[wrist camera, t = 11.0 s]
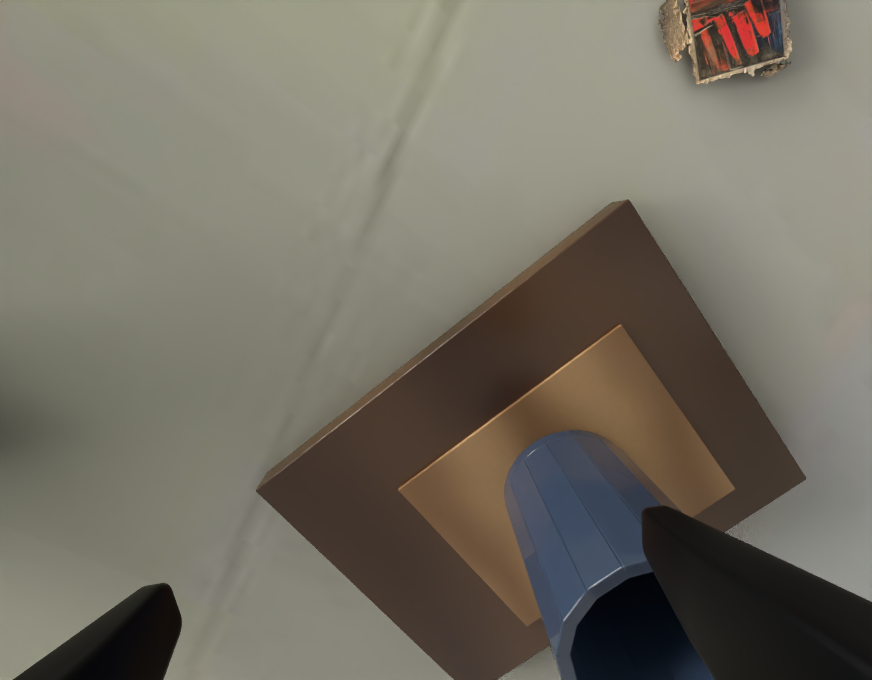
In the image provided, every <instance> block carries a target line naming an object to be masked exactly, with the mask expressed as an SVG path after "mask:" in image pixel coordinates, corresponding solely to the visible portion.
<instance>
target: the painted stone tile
mask: <svg viewBox="0 0 872 680" xmlns="http://www.w3.org/2000/svg"><path fill="white" fill-rule="evenodd" d="M676 4H677V0H667V1H666V2H665V3H664V4H663V5H662V6H661V7H660V11H662V12H663V15H664V20H663V21H662V20H659V21H658V22H659V24H661V26H660V27H661V28H662V29H661V30H660V31H661V32H664V37H663V38H664V41H665V44H666V46H667V49H669V54H670V56H671V58H672V59H675V62H677V61H678V60H679V59H681V55H679V50H683V49H684V48H685V43H686V44H687V45H689V43H691V44H690V45H691V46H690V45H689V46H690V47H689V46H688V47H689V48H688V49H689V54H690V56H691V57H692V58H693V60H694V70H693V71H694V73H693V76H695V78H696V81H695V82H696V84H700V83H705V84H707V83H708V81H714V80H717V79H718V78H720V79H723V78H730V76H731V75H733V74H737V73H741V72H744V73H749V74H750V75H751V76H752V77H753V76H754V75H755V73H754V70H755V69H758V68H760V67H763V66H764V65H768V64H773V63H777V64H775V65H773V66H771V67H769V68H767V71H765V70H766V69H765V70H764V71H765V72H764V71H762V72H761V73H762V74H761V76H763V75H764V74H765V76H766V77H771V76H773V75H774V74H776V73H777V72H779V71H780V70H782V69H783V68H785V67H786V66H787V63H788V62H787V61H786V62H785V63H786V64H785V65H784V64H781V63H780V64H778V63H779V62H780V61H781V60H784V59H786V58H788V57H789V53H790V51H792V47H791V45H792V41H791V39H790V38H788V35H789V33H790V31H789V30H788V26H789V25H790V23H791V21H790V19H789V18H788V15H787V6H786V2H785V0H685V1H684V4H686V8H685V9H684V11H682V12H683V13H684V14H687V19H686V21H687V25H688V27H687V26H686V25H685V26H686V28H687V30H688V32H689V33H687V30H686V29H685V26H684V24H683V23H682V14H681V12H680V8H679V5H677V6H676ZM659 13H660V12H659ZM688 37H690V39H689V38H688ZM688 39H689V40H688ZM691 61H692V60H691ZM692 64H693V63H692ZM789 64H791V61H790V63H789ZM692 68H693V66H692Z"/></svg>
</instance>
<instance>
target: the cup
mask: <svg viewBox="0 0 872 680" xmlns="http://www.w3.org/2000/svg"><path fill="white" fill-rule="evenodd" d="M504 501H505V506H506V510H507V513H508V516H509V519H510V523H511V526H512V529H513V533H514V536H515V539H516V542H517V545H518V548H519V551H520V554H521V557H522V560H523V564H524V567H525V570H526V573H527V576H528V579H529V582H530V585H531V588H532V591H533V595H534V598H535V601H536V604H537V607H538V610H539V613H540V616H541V619H542V622H543V626H544V629H545V632H546V635H547V638H548V641H549V644H550V647H551V650H552V653H553V657H554V660H555V663H556V666H557V669H558V672H559V675H560V678H561V680H715V679H714V678H713V676H712V675H711V673H710V672H709V670H708V669H707V667H706V666H705V664H704V662H703V661H702V659H701V658H700V656H699V655H698V653H697V651H696V650H695V648H694V646H693V645H692V643H691V642H690V640H689V638H688V636H687V634H686V633H685V631H684V629H683V627H682V625H681V623H680V622H679V620H678V618H677V616H676V614H675V612H674V610H673V608H672V606H671V604H670V603H669V601H668V599H667V597H666V595H665V593H664V591H663V589H662V587H661V585H660V584H659V582H658V580H657V578H656V576H655V574H654V572H653V570H652V568H651V567H650V565H649V563H648V561H647V559H646V557H645V554H644V551H643V547H642V518H641V516H642V511H643V509H644V508H646V507H652V506H658V505H666V506H668V507H671V508H673V509H675V510H677V511H679V512H681V513H682V511H681V510H680V509H679V508H678V507H677V506H676V505H675V504H674V503H673V502H672V501H671V500H670V499H669V498H668V497H667V496H666V495H665V494H664V493H663V492H662V491H661V490H660V489H659V488H658V487H657V486H656V485H655V483H654V482H653V481H652V480H651V479H650V478H649V477H648V476H647V475H646V474H645V473H644V472H643V471H642V470H641V469H640V468H639V467H638V466H637V465H636V464H635V463H634V462H633V461H632V460H631V459H630V458H629V457H628V455H627V454H626V453H625V452H624V451H623V450H621V449H620V448H618V446H616V445H615V444H614V443H613V442H612V441H610V440H608V439H607V438H605V437H603V436H601V435H598V434H596V433H592V432H588V431H582V430H568V431H561V432H556V433H553V434H550V435H547V436H545V437H543V438H541V439H538V440H537V441H535V442H534V443H532V444H531V445H529V446H528V447H527V448H526V449H525V450H524V451H523V452H522V453H521V454H520V455H519V456H518V457H517V458H516V460H515V461H514V463H513V464H512V466H511V468H510V470H509V472H508V475H507V477H506V481H505V486H504Z"/></svg>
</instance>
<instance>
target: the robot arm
mask: <svg viewBox="0 0 872 680" xmlns="http://www.w3.org/2000/svg"><path fill="white" fill-rule="evenodd" d="M641 518H642V547H643V551H644V554H645V557H646V559H647V561H648V563H649V565H650V567H651V568H652V570H653V572H654V574H655V576H656V578H657V580H658V582H659V584H660V585H661V587H662V589H663V591H664V593H665V595H666V597H667V599H668V601H669V603H670V604H671V606H672V608H673V610H674V612H675V614H676V616H677V618H678V620H679V622H680V623H681V625H682V627H683V629H684V631H685V633H686V634H687V636H688V638H689V640H690V642H691V643H692V645H693V646H694V648H695V650H696V651H697V653H698V655H699V656H700V658H701V659H702V661H703V662H704V664H705V666H706V667H707V669H708V670H709V672H710V673H711V675H712V676H713V678H714V679H715V680H872V602H871V601H869V600H866V599H864V598H862V597H860V596H858V595H856V594H854V593H852V592H849V591H847V590H845V589H843V588H841V587H839V586H837V585H835V584H832V583H830V582H828V581H826V580H824V579H822V578H820V577H817V576H815V575H813V574H811V573H809V572H807V571H805V570H803V569H800V568H798V567H796V566H794V565H792V564H790V563H788V562H786V561H783V560H781V559H779V558H777V557H775V556H773V555H771V554H769V553H766V552H764V551H762V550H760V549H758V548H756V547H754V546H752V545H749V544H747V543H745V542H743V541H741V540H739V539H737V538H734V537H732V536H730V535H728V534H726V533H724V532H722V531H720V530H717V529H715V528H713V527H711V526H709V525H707V524H705V523H703V522H700V521H698V520H696V519H694V518H692V517H690V516H688V515H686V514H683V513H681V512H679V511H677V510H675V509H673V508H671V507H668V506H666V505H658V506H652V507H646V508H644V509H643V511H642V516H641ZM181 627H182V618H181V614H180V611H179V608H178V605H177V603H176V600H175V597H174V594H173V591H172V589H171V587H170V586H169V585H168V584H166V583H160V584H154V585H148V586H144V587H142V588H140V589H139V590H137V591H136V592H134V593H133V594H132V595H130V596H129V597H127V598H126V599H125V600H123V601H122V602H120V603H119V604H118V605H116V606H115V607H114V608H112V609H111V610H109V611H108V612H107V613H105V614H104V615H102V616H101V617H100V618H98V619H97V620H95V621H94V622H93V623H91V624H90V625H88V626H87V627H86V628H84V629H83V630H81V631H80V632H79V633H77V634H76V635H75V636H73V637H72V638H70V639H69V640H68V641H66V642H65V643H63V644H62V645H61V646H59V647H58V648H56V649H55V650H54V651H52V652H51V653H49V654H48V655H47V656H45V657H44V658H42V659H41V660H40V661H38V662H37V663H36V664H34V665H33V666H31V667H30V668H29V669H27V670H26V671H24V672H23V673H22V674H20V675H19V676H17V677H16V678H15V679H13V680H163V679H164V676H165V674H166V671H167V668H168V665H169V663H170V660H171V657H172V654H173V652H174V649H175V646H176V643H177V641H178V638H179V635H180V632H181Z"/></svg>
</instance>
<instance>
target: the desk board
mask: <svg viewBox="0 0 872 680" xmlns="http://www.w3.org/2000/svg"><path fill="white" fill-rule="evenodd" d="M568 430H582V431H588V432H592V433H596V434H598V435H601V436H603V437H605V438H607V439H608V440H610V441H612V442H613V443H614V444H615V445H616V446H618V448H620V449H621V450H623V451H624V452H625V453H626V454H627V455H628V457H629V458H630V459H631V460H632V461H633V462H634V463H635V464H636V465H637V466H638V467H639V468H640V469H641V470H642V471H643V472H644V473H645V474H646V475H647V476H648V477H649V478H650V479H651V480H652V481H653V482H654V483H655V485H656V486H657V487H658V488H659V489H660V490H661V491H662V492H663V493H664V494H665V495H666V496H667V497H668V498H669V499H670V500H671V501H672V502H673V503H674V504H675V505H676V506H677V507H678V508H679V509H680V510H681V511H682V513H683V514H686V515H688V516H690V517H692V518H694V519H696V520H698V521H700V522H703V523H705V524H707V525H709V526H711V527H713V528H715V529H717V530H720V531H722V532H725V531H727V530H729V529H730V528H732V527H733V526H735V525H736V524H738V523H739V522H741V521H742V520H744V519H746V518H747V517H749V516H750V515H752V514H753V513H755V512H756V511H758V510H759V509H761V508H763V507H764V506H766V505H767V504H769V503H770V502H772V501H773V500H775V499H776V498H778V497H780V496H781V495H783V494H784V493H786V492H787V491H789V490H790V489H792V488H793V487H795V486H797V485H798V484H800V483H801V482H803V481H804V480H806V477H805V475H804V474H803V472H802V471H801V469H800V468H799V466H798V464H797V463H796V461H795V460H794V458H793V457H792V455H791V453H790V452H789V450H788V449H787V447H786V446H785V444H784V442H783V441H782V439H781V438H780V436H779V435H778V433H777V431H776V430H775V428H774V427H773V425H772V424H771V422H770V420H769V419H768V417H767V416H766V414H765V413H764V411H763V409H762V408H761V406H760V405H759V403H758V402H757V400H756V398H755V397H754V395H753V394H752V392H751V391H750V389H749V387H748V386H747V384H746V383H745V381H744V380H743V378H742V376H741V375H740V373H739V372H738V370H737V369H736V367H735V365H734V364H733V362H732V361H731V359H730V358H729V356H728V354H727V353H726V351H725V350H724V348H723V347H722V345H721V343H720V342H719V340H718V339H717V337H716V336H715V334H714V332H713V331H712V329H711V328H710V326H709V325H708V323H707V321H706V320H705V318H704V317H703V315H702V314H701V312H700V310H699V309H698V307H697V306H696V304H695V303H694V301H693V299H692V298H691V296H690V295H689V293H688V292H687V290H686V288H685V287H684V285H683V284H682V282H681V281H680V279H679V277H678V276H677V274H676V273H675V271H674V270H673V268H672V266H671V265H670V263H669V262H668V260H667V259H666V257H665V255H664V254H663V252H662V251H661V249H660V248H659V246H658V244H657V243H656V241H655V240H654V238H653V237H652V235H651V233H650V232H649V230H648V229H647V227H646V226H645V224H644V222H643V221H642V219H641V218H640V216H639V215H638V213H637V211H636V210H635V208H634V207H633V205H632V204H631V202H630V201H629V200H623V201H618V202H612V203H610V204H609V205H608V206H607V207H605V208H604V209H603V210H601V211H600V212H599V213H598V214H596V215H595V216H594V217H593V218H591V219H590V220H589V221H587V222H586V223H585V224H584V225H582V226H581V227H580V228H578V229H577V230H576V231H575V232H573V233H572V234H571V235H570V236H568V237H567V238H566V239H564V240H563V241H562V242H561V243H559V244H558V245H557V246H555V247H554V248H553V249H552V250H550V251H549V252H548V253H547V254H545V255H544V256H543V257H541V258H540V259H539V260H538V261H536V262H535V263H534V264H533V265H531V266H530V267H529V268H527V269H526V270H525V271H524V272H522V273H521V274H520V275H518V276H517V277H516V278H515V279H513V280H512V281H511V282H510V283H508V284H507V285H506V286H504V287H503V288H502V289H501V290H499V291H498V292H497V293H495V294H494V295H493V296H492V297H490V298H489V299H488V300H487V301H485V302H484V303H483V304H481V305H480V306H479V307H478V308H476V309H475V310H474V311H473V312H471V313H470V314H469V315H467V316H466V317H465V318H464V319H462V320H461V321H460V322H458V323H457V324H456V325H455V326H453V327H452V328H451V329H450V330H448V331H447V332H446V333H444V334H443V335H442V336H441V337H439V338H438V339H437V340H435V341H434V342H433V343H432V344H430V345H429V346H428V347H427V348H425V349H424V350H423V351H421V352H420V353H419V354H418V355H416V356H415V357H414V358H413V359H411V360H410V361H409V362H407V363H406V364H405V365H404V366H402V367H401V368H400V369H398V370H397V371H396V372H395V373H393V374H392V375H391V376H390V377H388V378H387V379H386V380H384V381H383V382H382V383H381V384H379V385H378V386H377V387H375V388H374V389H373V390H372V391H370V392H369V393H368V394H367V395H365V396H364V397H363V398H361V399H360V400H359V401H358V402H356V403H355V404H354V405H353V406H351V407H350V408H349V409H347V410H346V411H345V412H344V413H342V414H341V415H340V416H338V417H337V418H336V419H335V420H333V421H332V422H331V423H330V424H328V425H327V426H326V427H324V428H323V429H322V430H321V431H319V432H318V433H317V434H316V435H314V436H313V437H312V438H310V439H309V440H308V441H307V442H305V443H304V444H303V445H301V446H300V447H299V448H298V449H296V450H295V451H294V452H293V453H291V454H290V455H289V456H287V457H286V458H285V459H284V460H282V461H281V462H280V463H278V464H277V465H276V466H275V467H273V468H272V469H271V470H270V471H268V472H267V473H266V475H265V476H264V478H263V479H262V481H261V483H260V484H259V486H258V487H257V489H256V492H257V493H258V494H260V495H261V496H262V497H263V498H264V499H265V500H266V501H267V502H268V503H269V504H270V505H271V506H272V507H273V508H274V509H275V510H276V511H277V512H278V513H280V514H281V515H282V516H283V517H284V518H285V519H286V520H287V521H288V522H289V523H290V524H291V525H292V526H293V527H294V528H295V529H296V530H297V531H298V532H299V533H301V534H302V535H303V536H304V537H305V538H306V539H307V540H308V541H309V542H310V543H311V544H312V545H313V546H314V547H315V548H316V549H317V550H318V551H319V552H320V553H322V554H323V555H324V556H325V557H326V558H327V559H328V560H329V561H330V562H331V563H332V564H333V565H334V566H335V567H336V568H337V569H338V570H339V571H340V572H341V573H343V574H344V575H345V576H346V577H347V578H348V579H349V580H350V581H351V582H352V583H353V584H354V585H355V586H356V587H357V588H358V589H359V590H360V591H361V592H362V593H364V594H365V595H366V596H367V597H368V598H369V599H370V600H371V601H372V602H373V603H374V604H375V605H376V606H377V607H378V608H379V609H380V610H381V611H382V612H383V613H385V614H386V615H387V616H388V617H389V618H390V619H391V620H392V621H393V622H394V623H395V624H396V625H397V626H398V627H399V628H400V629H401V630H402V631H403V632H404V633H406V634H407V635H408V636H409V637H410V638H411V639H412V640H413V641H414V642H415V643H416V644H417V645H418V646H419V647H420V648H421V649H422V650H423V651H424V652H425V653H427V654H428V655H429V656H430V657H431V658H432V659H433V660H434V661H435V662H436V663H437V664H438V665H439V666H440V667H441V668H442V669H443V670H444V671H445V672H446V673H448V674H449V675H450V676H451V677H452V678H453V679H454V680H497V679H498V678H500V677H502V676H503V675H505V674H506V673H508V672H509V671H511V670H512V669H514V668H515V667H517V666H519V665H520V664H522V663H523V662H525V661H526V660H528V659H529V658H531V657H532V656H534V655H536V654H537V653H539V652H540V651H542V650H543V649H545V648H546V647H548V646H549V645H550V644H549V641H548V638H547V635H546V632H545V629H544V626H543V622H542V619H541V616H540V613H539V610H538V607H537V604H536V601H535V598H534V595H533V591H532V588H531V585H530V582H529V579H528V576H527V573H526V570H525V567H524V564H523V560H522V557H521V554H520V551H519V548H518V545H517V542H516V539H515V536H514V533H513V529H512V526H511V523H510V519H509V516H508V513H507V510H506V506H505V501H504V486H505V481H506V477H507V475H508V472H509V470H510V468H511V466H512V464H513V463H514V461H515V460H516V458H517V457H518V456H519V455H520V454H521V453H522V452H523V451H524V450H525V449H526V448H527V447H528V446H529V445H531V444H532V443H534V442H535V441H537V440H538V439H541V438H543V437H545V436H547V435H550V434H553V433H556V432H561V431H568Z"/></svg>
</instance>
